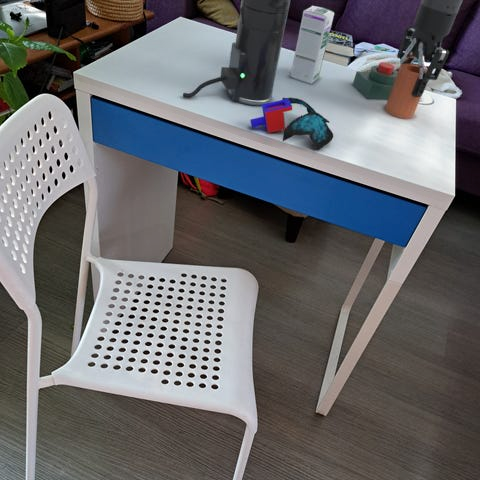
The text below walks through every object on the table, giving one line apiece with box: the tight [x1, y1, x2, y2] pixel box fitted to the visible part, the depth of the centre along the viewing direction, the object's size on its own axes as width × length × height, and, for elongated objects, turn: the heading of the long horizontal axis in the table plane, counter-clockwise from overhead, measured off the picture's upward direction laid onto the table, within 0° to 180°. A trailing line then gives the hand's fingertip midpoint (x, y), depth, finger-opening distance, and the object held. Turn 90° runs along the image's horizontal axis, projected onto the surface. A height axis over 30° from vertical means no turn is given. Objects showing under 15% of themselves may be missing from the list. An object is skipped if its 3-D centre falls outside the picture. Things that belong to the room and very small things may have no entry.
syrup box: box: [289, 5, 335, 84], centre depth 116 cm, size 6×6×14 cm
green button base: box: [352, 65, 398, 100], centre depth 120 cm, size 10×8×5 cm
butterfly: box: [281, 97, 334, 151], centre depth 98 cm, size 17×5×10 cm
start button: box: [377, 61, 395, 75], centre depth 118 cm, size 4×4×2 cm
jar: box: [384, 63, 427, 120], centre depth 112 cm, size 7×7×10 cm
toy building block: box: [250, 98, 293, 134], centre depth 97 cm, size 4×4×8 cm
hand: (407, 89), depth 112 cm, fingers closed on jar, 6 cm apart
